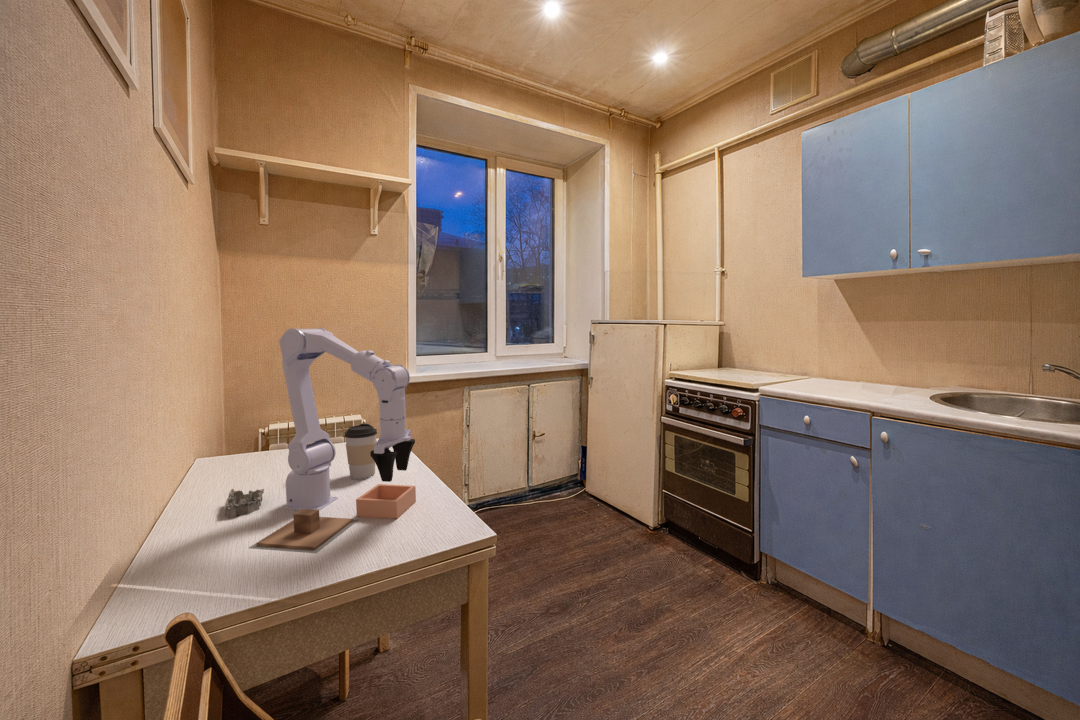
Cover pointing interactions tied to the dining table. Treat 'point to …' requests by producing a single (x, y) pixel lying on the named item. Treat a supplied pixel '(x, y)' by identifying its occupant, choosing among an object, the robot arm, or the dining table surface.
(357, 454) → the coffee cup
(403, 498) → the open box
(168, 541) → the dining table surface
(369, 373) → the robot arm
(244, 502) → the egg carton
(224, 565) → the dining table surface
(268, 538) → the lid
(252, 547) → the mat
